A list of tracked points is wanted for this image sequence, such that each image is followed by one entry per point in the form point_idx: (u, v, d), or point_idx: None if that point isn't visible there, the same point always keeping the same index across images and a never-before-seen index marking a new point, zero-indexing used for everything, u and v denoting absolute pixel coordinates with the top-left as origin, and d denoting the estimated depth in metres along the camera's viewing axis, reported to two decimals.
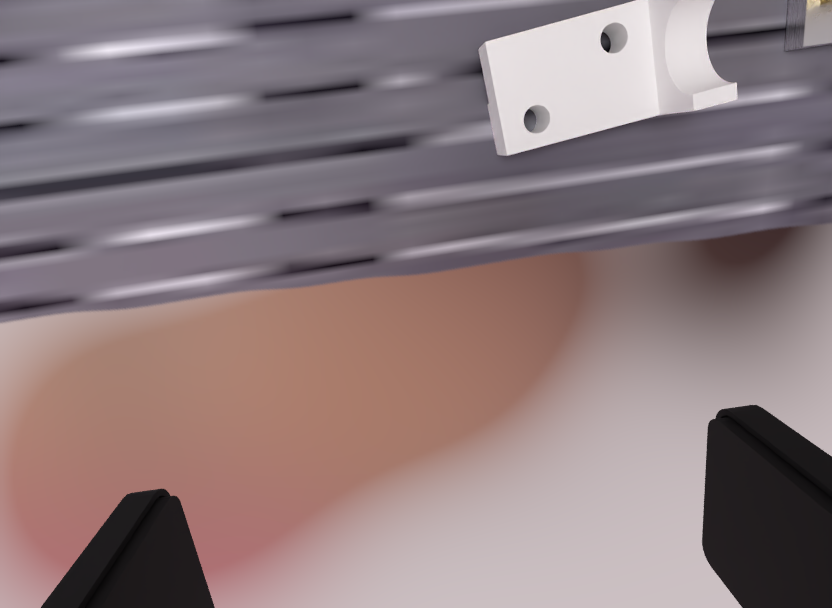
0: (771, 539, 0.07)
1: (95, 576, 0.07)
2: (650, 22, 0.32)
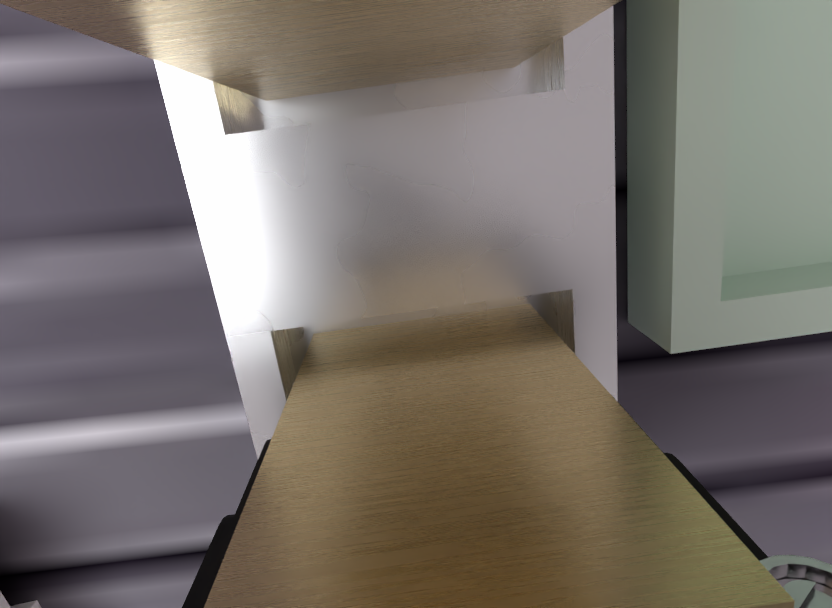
0: None
1: None
2: None
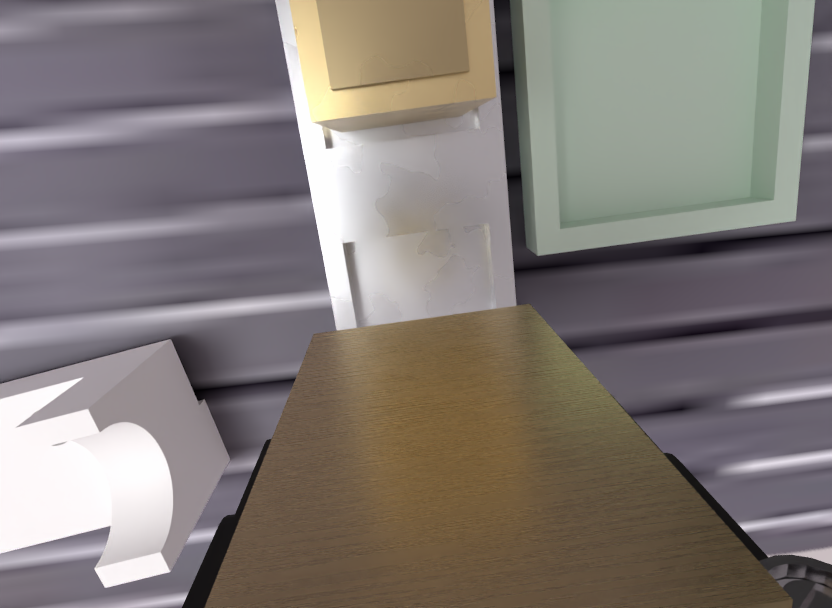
0: None
1: None
2: None
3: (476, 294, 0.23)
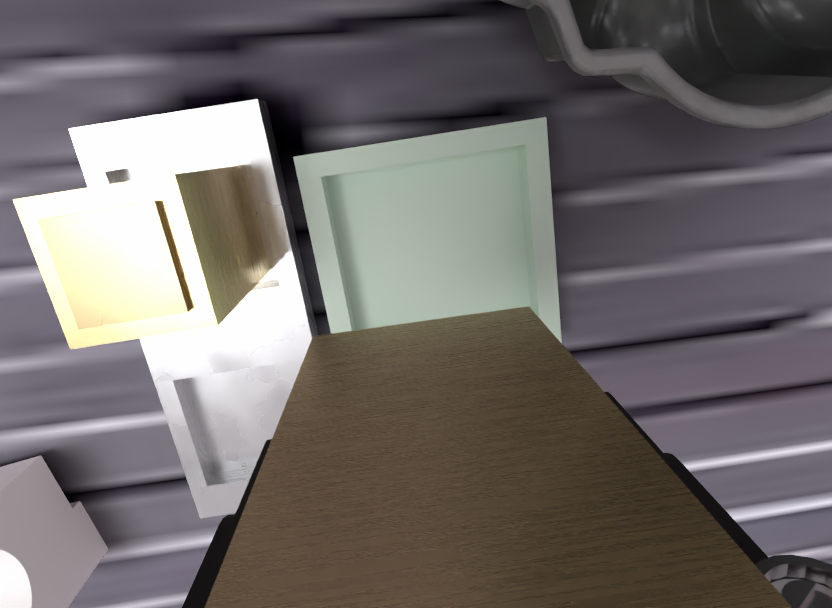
0: None
1: None
2: None
3: None
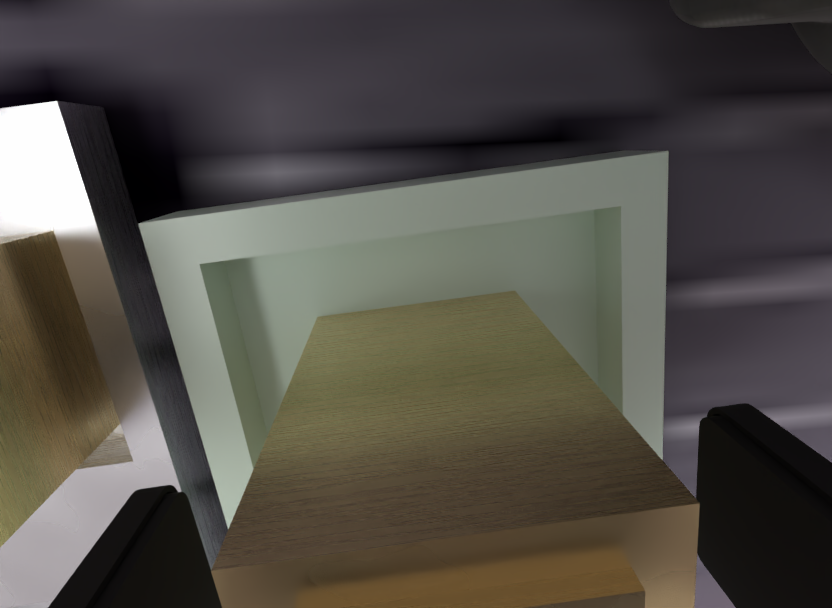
0: (760, 536, 0.07)
1: (106, 570, 0.07)
2: None
3: None
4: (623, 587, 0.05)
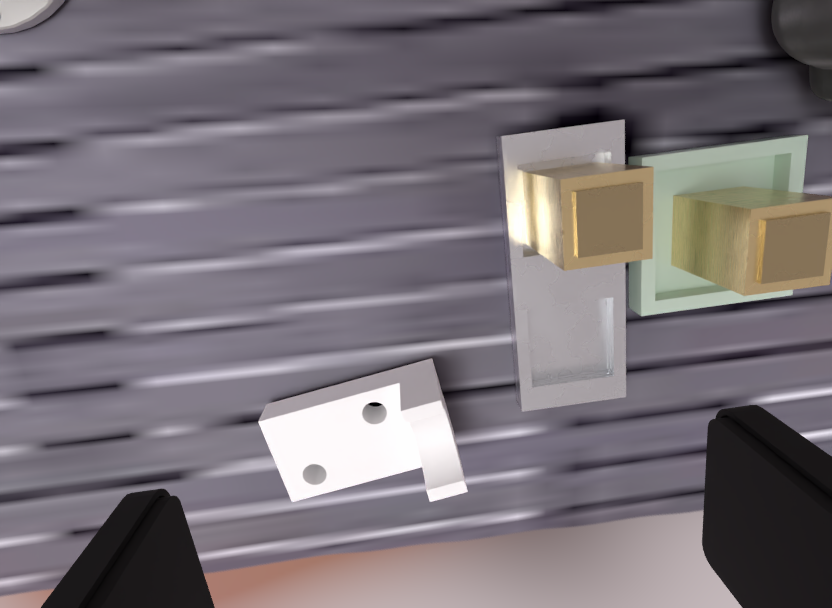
0: (771, 539, 0.07)
1: (95, 576, 0.07)
2: None
3: (598, 336, 0.38)
4: (826, 212, 0.28)
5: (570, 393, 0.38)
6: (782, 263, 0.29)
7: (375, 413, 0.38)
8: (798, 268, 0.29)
